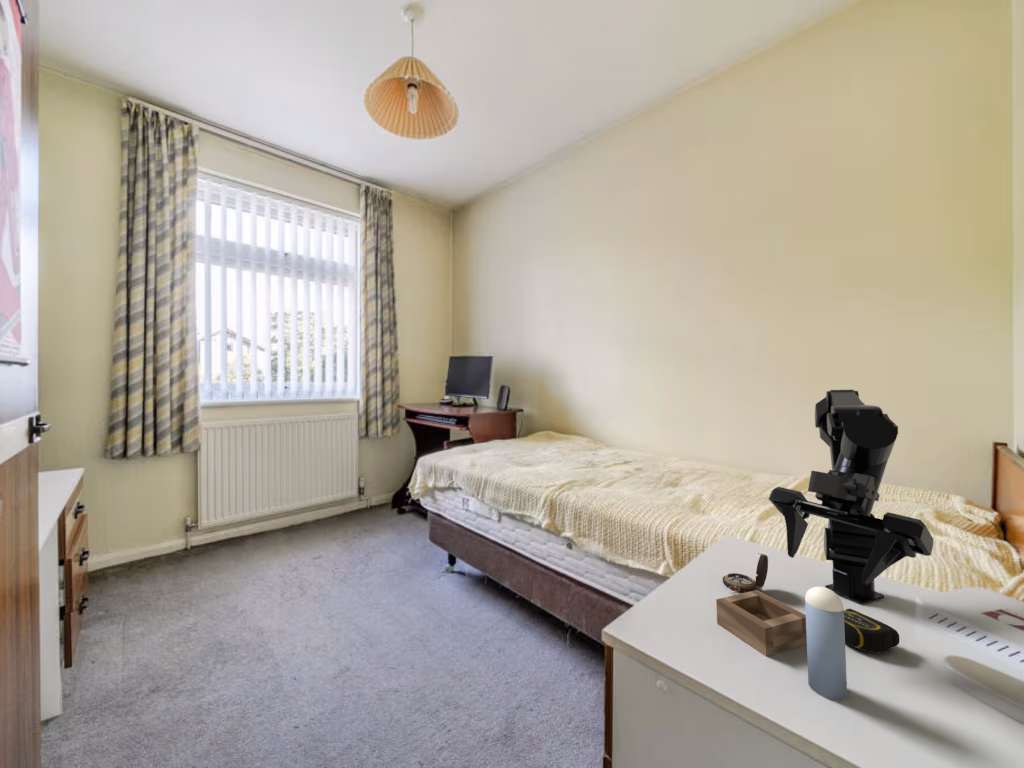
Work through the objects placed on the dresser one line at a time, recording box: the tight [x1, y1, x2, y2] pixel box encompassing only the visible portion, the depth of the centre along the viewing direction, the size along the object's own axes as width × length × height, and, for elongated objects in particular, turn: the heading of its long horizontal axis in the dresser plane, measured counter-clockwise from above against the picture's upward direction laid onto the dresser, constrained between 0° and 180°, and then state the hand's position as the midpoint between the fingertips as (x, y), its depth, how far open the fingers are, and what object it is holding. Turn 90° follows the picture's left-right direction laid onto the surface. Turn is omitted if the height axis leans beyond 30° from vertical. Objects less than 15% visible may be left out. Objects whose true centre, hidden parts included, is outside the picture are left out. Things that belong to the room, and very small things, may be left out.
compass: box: [722, 552, 769, 593], centre depth 80 cm, size 8×8×7 cm
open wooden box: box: [716, 589, 807, 657], centre depth 65 cm, size 9×9×4 cm
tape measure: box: [844, 608, 900, 654], centre depth 62 cm, size 7×7×4 cm
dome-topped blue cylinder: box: [804, 586, 848, 701], centre depth 53 cm, size 4×4×13 cm
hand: (824, 568), depth 59 cm, fingers open, 9 cm apart
